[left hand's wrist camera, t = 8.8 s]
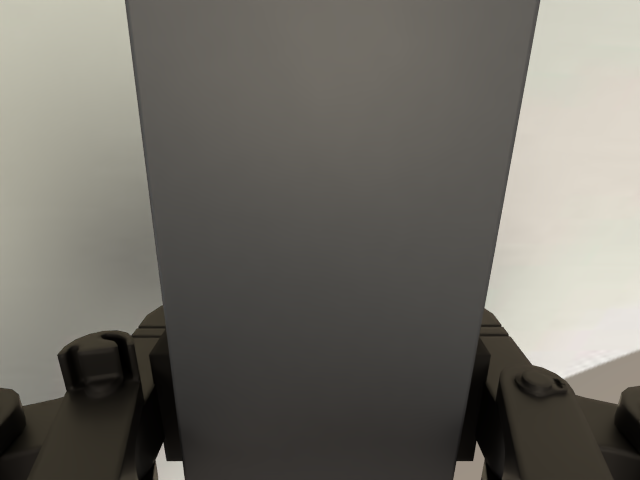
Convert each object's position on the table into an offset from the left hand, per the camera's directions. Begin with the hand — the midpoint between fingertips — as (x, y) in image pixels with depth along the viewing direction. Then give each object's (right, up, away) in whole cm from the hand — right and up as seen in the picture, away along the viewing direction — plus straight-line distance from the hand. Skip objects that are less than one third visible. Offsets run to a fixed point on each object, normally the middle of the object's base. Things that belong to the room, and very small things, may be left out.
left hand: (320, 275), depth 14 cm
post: (0, +20, -7) cm, 21 cm away
